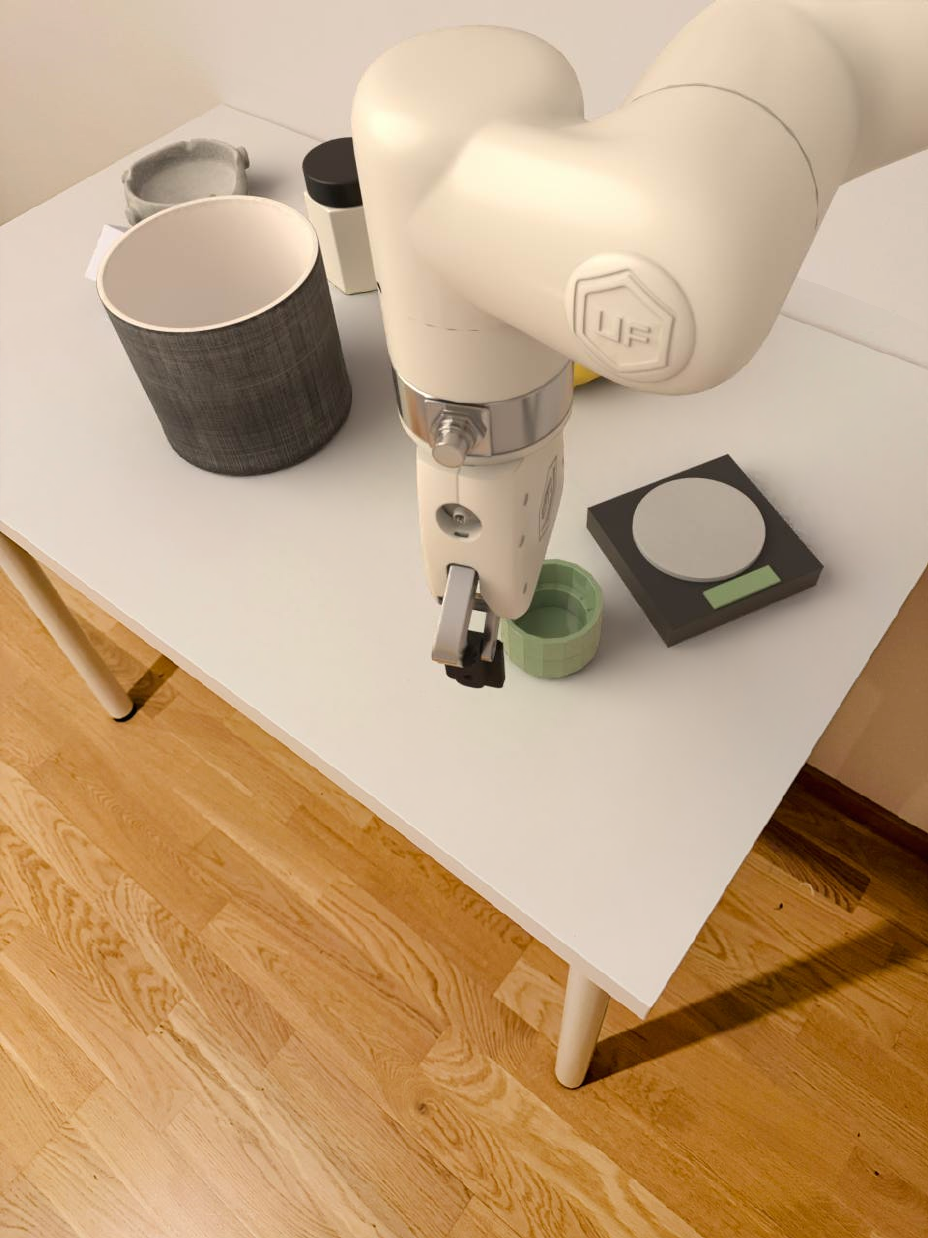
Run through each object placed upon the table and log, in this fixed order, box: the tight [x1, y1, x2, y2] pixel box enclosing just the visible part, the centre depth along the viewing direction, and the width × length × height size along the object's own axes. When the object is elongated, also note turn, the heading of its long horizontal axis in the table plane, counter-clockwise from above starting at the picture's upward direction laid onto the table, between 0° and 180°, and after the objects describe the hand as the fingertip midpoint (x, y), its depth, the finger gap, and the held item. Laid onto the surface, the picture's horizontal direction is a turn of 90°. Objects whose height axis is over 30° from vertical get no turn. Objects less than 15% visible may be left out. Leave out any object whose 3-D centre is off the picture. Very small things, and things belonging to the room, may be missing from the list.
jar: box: [301, 136, 378, 295], centre depth 91 cm, size 9×8×12 cm
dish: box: [121, 137, 251, 228], centre depth 102 cm, size 14×14×5 cm
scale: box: [585, 453, 825, 648], centre depth 71 cm, size 13×13×3 cm
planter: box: [95, 195, 353, 476], centre depth 78 cm, size 18×18×16 cm
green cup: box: [499, 558, 604, 679], centre depth 66 cm, size 7×7×5 cm
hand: (498, 607), depth 52 cm, fingers open, 9 cm apart
